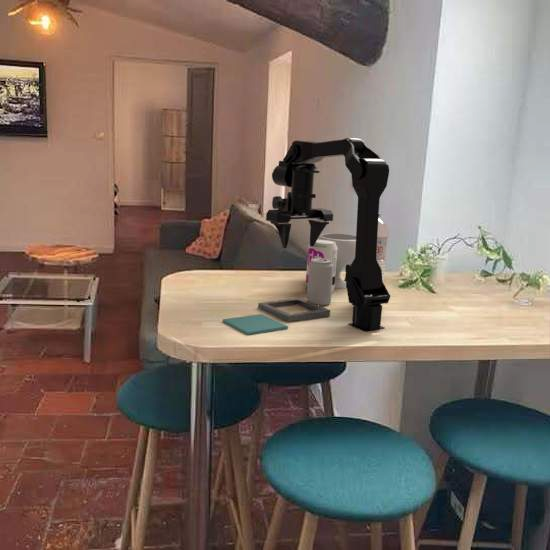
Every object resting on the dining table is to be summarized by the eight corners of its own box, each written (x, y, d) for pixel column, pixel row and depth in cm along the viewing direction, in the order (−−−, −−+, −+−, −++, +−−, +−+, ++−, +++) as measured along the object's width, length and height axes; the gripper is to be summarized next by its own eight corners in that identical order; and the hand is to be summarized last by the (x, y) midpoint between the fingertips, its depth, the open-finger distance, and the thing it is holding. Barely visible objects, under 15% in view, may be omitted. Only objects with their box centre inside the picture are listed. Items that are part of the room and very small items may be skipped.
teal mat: (287, 328, 144) (288, 326, 144) (247, 335, 138) (247, 332, 138) (261, 316, 153) (261, 313, 153) (222, 321, 147) (222, 319, 146)
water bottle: (351, 305, 167) (359, 212, 162) (360, 300, 173) (368, 210, 168) (376, 310, 164) (385, 215, 159) (384, 305, 170) (393, 213, 165)
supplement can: (319, 298, 173) (322, 244, 170) (299, 291, 180) (302, 240, 176) (339, 294, 179) (343, 242, 175) (319, 288, 185) (323, 238, 181)
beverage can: (334, 303, 169) (337, 259, 166) (323, 308, 163) (326, 263, 160) (314, 299, 172) (316, 256, 169) (302, 304, 166) (304, 259, 164)
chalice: (367, 285, 192) (371, 237, 188) (345, 293, 180) (350, 242, 177) (327, 278, 199) (331, 231, 196) (304, 285, 188) (307, 235, 185)
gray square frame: (329, 315, 156) (330, 310, 156) (288, 322, 149) (288, 316, 149) (298, 303, 167) (298, 297, 166) (257, 308, 159) (258, 303, 159)
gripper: (310, 186, 177) (307, 240, 181) (255, 186, 167) (253, 244, 170) (336, 190, 168) (332, 247, 172) (280, 190, 158) (276, 251, 161)
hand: (298, 247), depth 169 cm, fingers open, 9 cm apart
